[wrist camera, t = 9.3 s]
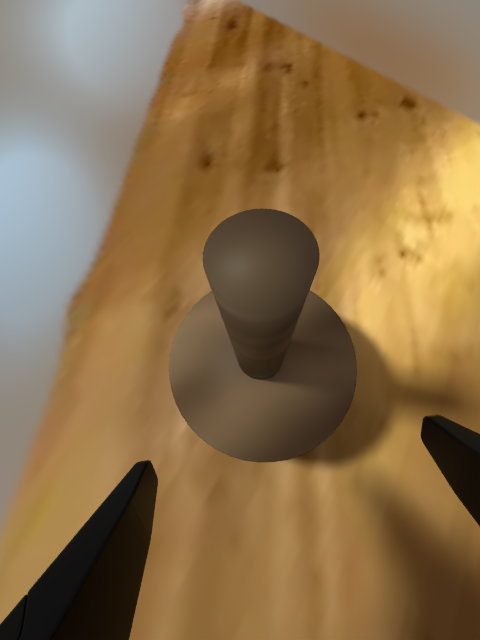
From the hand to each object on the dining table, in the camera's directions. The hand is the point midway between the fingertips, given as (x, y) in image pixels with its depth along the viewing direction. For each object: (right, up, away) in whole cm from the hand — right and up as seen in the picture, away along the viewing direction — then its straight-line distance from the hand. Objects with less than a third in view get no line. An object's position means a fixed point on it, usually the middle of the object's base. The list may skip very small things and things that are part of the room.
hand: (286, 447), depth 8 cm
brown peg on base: (0, +1, +9) cm, 9 cm away
